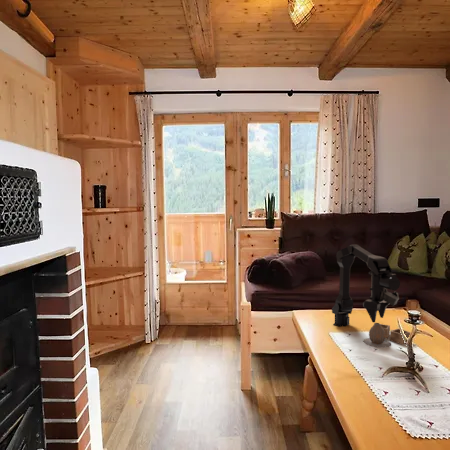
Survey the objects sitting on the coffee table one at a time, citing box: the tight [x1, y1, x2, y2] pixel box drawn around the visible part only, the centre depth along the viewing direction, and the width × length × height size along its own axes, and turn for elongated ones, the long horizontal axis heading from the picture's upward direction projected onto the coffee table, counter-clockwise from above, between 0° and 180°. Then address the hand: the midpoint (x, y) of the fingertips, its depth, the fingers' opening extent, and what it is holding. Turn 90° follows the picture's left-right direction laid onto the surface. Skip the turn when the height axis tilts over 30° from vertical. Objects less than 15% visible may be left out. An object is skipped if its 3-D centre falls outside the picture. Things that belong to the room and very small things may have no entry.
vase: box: [368, 322, 386, 344], centre depth 173 cm, size 7×7×9 cm
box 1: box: [380, 323, 391, 339], centre depth 182 cm, size 6×6×5 cm
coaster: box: [362, 337, 392, 349], centre depth 173 cm, size 12×12×1 cm
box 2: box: [389, 328, 411, 345], centre depth 174 cm, size 6×6×5 cm
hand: (377, 319), depth 172 cm, fingers open, 9 cm apart
